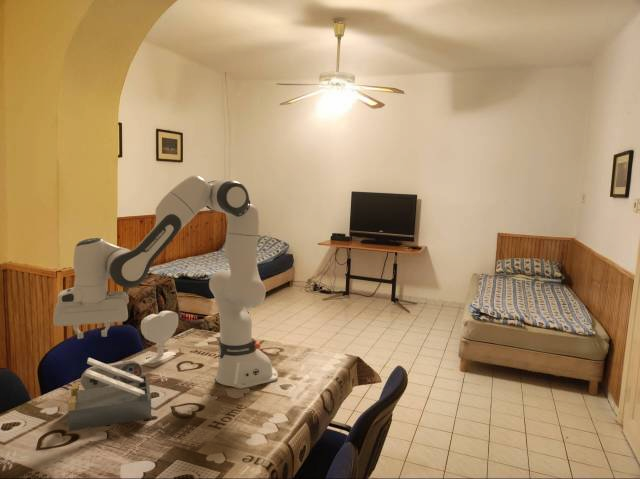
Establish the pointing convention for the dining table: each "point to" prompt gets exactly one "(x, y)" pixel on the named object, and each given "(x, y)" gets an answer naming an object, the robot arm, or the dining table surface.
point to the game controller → (126, 366)
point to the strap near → (114, 382)
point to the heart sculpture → (159, 332)
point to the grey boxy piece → (107, 406)
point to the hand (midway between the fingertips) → (92, 337)
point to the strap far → (114, 370)
